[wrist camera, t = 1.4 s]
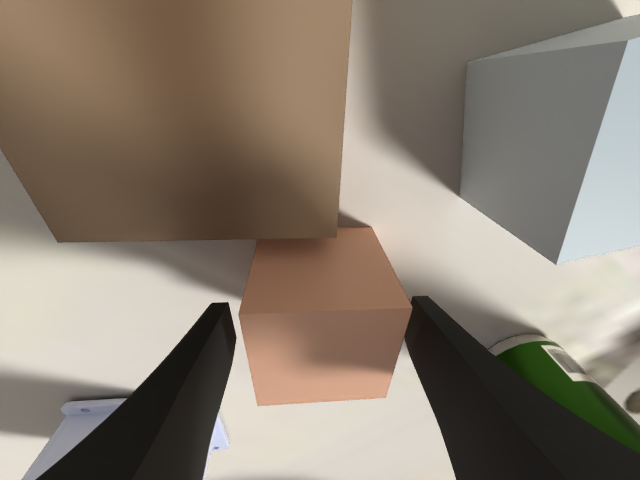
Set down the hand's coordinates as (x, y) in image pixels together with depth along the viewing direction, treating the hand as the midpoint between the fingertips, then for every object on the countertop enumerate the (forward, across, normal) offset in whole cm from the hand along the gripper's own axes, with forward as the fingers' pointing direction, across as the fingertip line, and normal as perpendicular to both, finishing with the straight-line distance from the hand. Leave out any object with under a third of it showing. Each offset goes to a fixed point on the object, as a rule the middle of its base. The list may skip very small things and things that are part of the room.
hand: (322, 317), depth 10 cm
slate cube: (+3, -8, -7) cm, 11 cm away
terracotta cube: (+3, 0, 0) cm, 3 cm away
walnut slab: (+3, +4, -8) cm, 9 cm away
